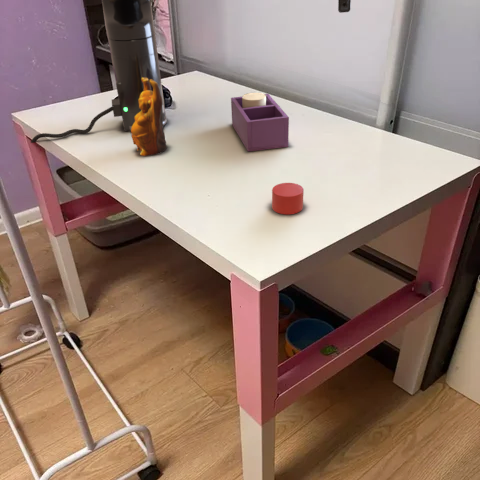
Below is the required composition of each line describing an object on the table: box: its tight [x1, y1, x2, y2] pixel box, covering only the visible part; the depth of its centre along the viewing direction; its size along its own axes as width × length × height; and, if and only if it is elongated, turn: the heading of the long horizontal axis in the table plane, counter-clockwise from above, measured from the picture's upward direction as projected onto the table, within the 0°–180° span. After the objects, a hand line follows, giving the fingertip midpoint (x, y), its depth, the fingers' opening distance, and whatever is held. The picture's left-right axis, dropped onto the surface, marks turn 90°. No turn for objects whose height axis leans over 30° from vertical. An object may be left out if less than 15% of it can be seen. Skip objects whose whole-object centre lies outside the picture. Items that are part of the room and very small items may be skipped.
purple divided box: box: [230, 93, 290, 153], centre depth 102 cm, size 8×15×6 cm, turn 12°
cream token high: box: [241, 92, 266, 108], centre depth 103 cm, size 5×5×3 cm
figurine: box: [130, 78, 168, 157], centre depth 95 cm, size 6×7×13 cm
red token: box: [271, 182, 304, 215], centre depth 79 cm, size 5×5×3 cm
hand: (344, 6), depth 98 cm, fingers open, 8 cm apart
